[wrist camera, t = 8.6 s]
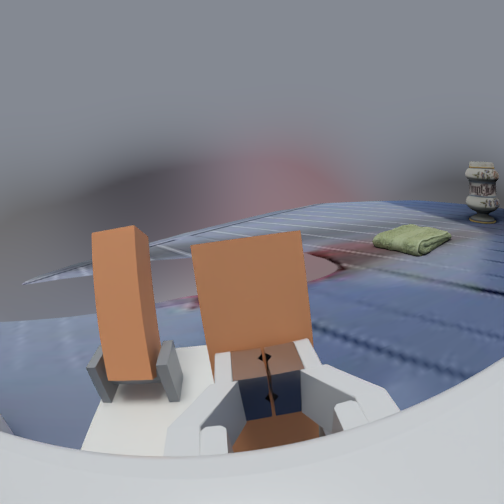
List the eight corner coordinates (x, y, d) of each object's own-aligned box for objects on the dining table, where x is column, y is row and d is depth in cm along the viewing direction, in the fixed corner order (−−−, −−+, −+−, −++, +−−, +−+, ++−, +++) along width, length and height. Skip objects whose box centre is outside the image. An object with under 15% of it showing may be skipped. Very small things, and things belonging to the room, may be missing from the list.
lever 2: (237, 501, 10) (181, 246, 9) (235, 457, 13) (194, 247, 13) (326, 485, 10) (308, 229, 10) (309, 444, 14) (287, 233, 13)
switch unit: (77, 521, 9) (25, 475, 7) (129, 368, 26) (112, 321, 25) (351, 514, 10) (369, 471, 8) (287, 350, 27) (283, 300, 26)
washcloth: (453, 240, 54) (454, 227, 54) (421, 260, 46) (422, 243, 45) (408, 233, 66) (408, 220, 65) (367, 248, 57) (367, 233, 57)
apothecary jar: (480, 215, 74) (479, 162, 70) (505, 222, 63) (505, 163, 58) (458, 218, 73) (457, 160, 69) (485, 225, 62) (484, 161, 57)
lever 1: (106, 389, 18) (88, 233, 20) (123, 379, 21) (107, 243, 23) (158, 388, 18) (137, 224, 20) (169, 377, 21) (151, 236, 23)
